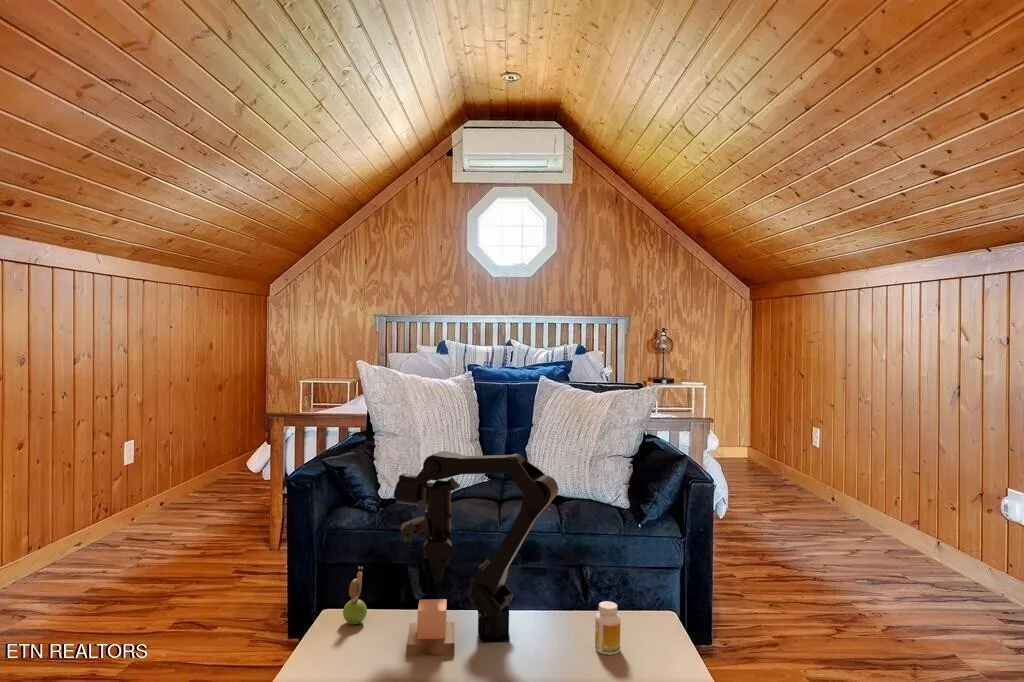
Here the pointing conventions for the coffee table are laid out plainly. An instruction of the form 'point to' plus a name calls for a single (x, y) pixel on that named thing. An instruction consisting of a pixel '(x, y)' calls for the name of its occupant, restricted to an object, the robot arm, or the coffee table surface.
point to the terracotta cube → (431, 619)
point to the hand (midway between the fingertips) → (437, 574)
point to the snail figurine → (355, 602)
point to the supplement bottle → (607, 629)
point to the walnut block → (431, 642)
